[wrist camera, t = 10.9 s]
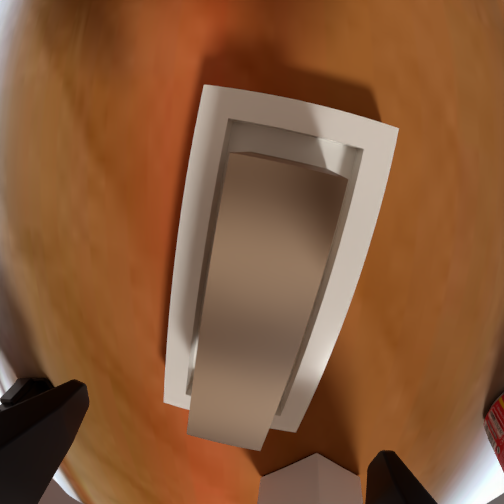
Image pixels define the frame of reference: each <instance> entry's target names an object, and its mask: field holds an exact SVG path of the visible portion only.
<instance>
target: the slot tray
mask: <svg viewBox="0 0 504 504" xmlns="http://www.w3.org/2000/svg"><path fill="white" fill-rule="evenodd" d="M398 130H399V128H396V127H393V126H390V125H387V124H384V123H381V122H378V121H375V120H372V119H368V118H365V117H362V116H358V115H355V114H351V113H348V112H344V111H340V110H337V109H333V108H329V107H325V106H321V105H317V104H313V103H309V102H304V101H300V100H295V99H291V98H286V97H281V96H276V95H270V94H265V93H259V92H254V91H248V90H241V89H235V88H228V87H220V86H212V85H204V87H203V92H202V96H201V101H200V106H199V111H198V116H197V121H196V126H195V131H194V136H193V142H192V147H191V153H190V158H189V164H188V170H187V176H186V182H185V189H184V195H183V202H182V209H181V216H180V223H179V230H178V238H177V246H176V254H175V262H174V271H173V280H172V290H171V300H170V311H169V323H168V335H167V349H166V365H165V384H164V403H167V404H171V405H174V406H177V407H181V408H184V409H188V410H190V401H191V393H192V385H193V377H194V369H195V362H196V354H197V347H198V340H199V333H200V326H201V319H202V312H203V305H204V299H205V292H206V286H207V279H208V273H209V267H210V260H211V254H212V248H213V242H214V236H215V231H216V225H217V219H218V213H219V208H220V202H221V197H222V191H223V186H224V180H225V175H226V170H227V165H228V159H229V154H230V152H255V153H260V154H265V155H270V156H275V157H279V158H284V159H288V160H293V161H297V162H301V163H306V164H310V165H314V166H318V167H322V168H326V169H329V170H331V171H333V172H335V173H337V174H339V175H341V176H343V177H345V178H347V179H348V183H347V187H346V191H345V195H344V199H343V203H342V207H341V210H340V214H339V218H338V222H337V226H336V229H335V233H334V237H333V240H332V244H331V247H330V251H329V254H328V258H327V261H326V265H325V268H324V272H323V275H322V278H321V282H320V285H319V288H318V292H317V295H316V298H315V301H314V304H313V308H312V311H311V314H310V317H309V320H308V323H307V326H306V329H305V332H304V335H303V338H302V341H301V344H300V347H299V350H298V353H297V356H296V358H295V361H294V364H293V367H292V370H291V373H290V375H289V378H288V381H287V384H286V386H285V389H284V392H283V394H282V397H281V400H280V402H279V405H278V408H277V410H276V413H275V415H274V418H273V421H272V423H271V426H270V428H271V429H277V430H283V431H289V432H296V431H297V429H298V427H299V425H300V423H301V421H302V419H303V417H304V414H305V412H306V410H307V408H308V406H309V404H310V401H311V399H312V397H313V395H314V393H315V390H316V388H317V386H318V384H319V381H320V379H321V377H322V374H323V372H324V369H325V367H326V365H327V362H328V360H329V357H330V355H331V353H332V350H333V348H334V345H335V342H336V340H337V337H338V335H339V332H340V330H341V327H342V324H343V322H344V319H345V316H346V314H347V311H348V308H349V305H350V302H351V300H352V297H353V294H354V291H355V288H356V285H357V282H358V279H359V276H360V273H361V270H362V267H363V264H364V261H365V258H366V255H367V251H368V248H369V245H370V242H371V238H372V235H373V232H374V228H375V225H376V221H377V218H378V214H379V210H380V207H381V203H382V199H383V195H384V191H385V188H386V184H387V180H388V175H389V171H390V167H391V163H392V158H393V154H394V149H395V145H396V140H397V135H398Z"/></svg>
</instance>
